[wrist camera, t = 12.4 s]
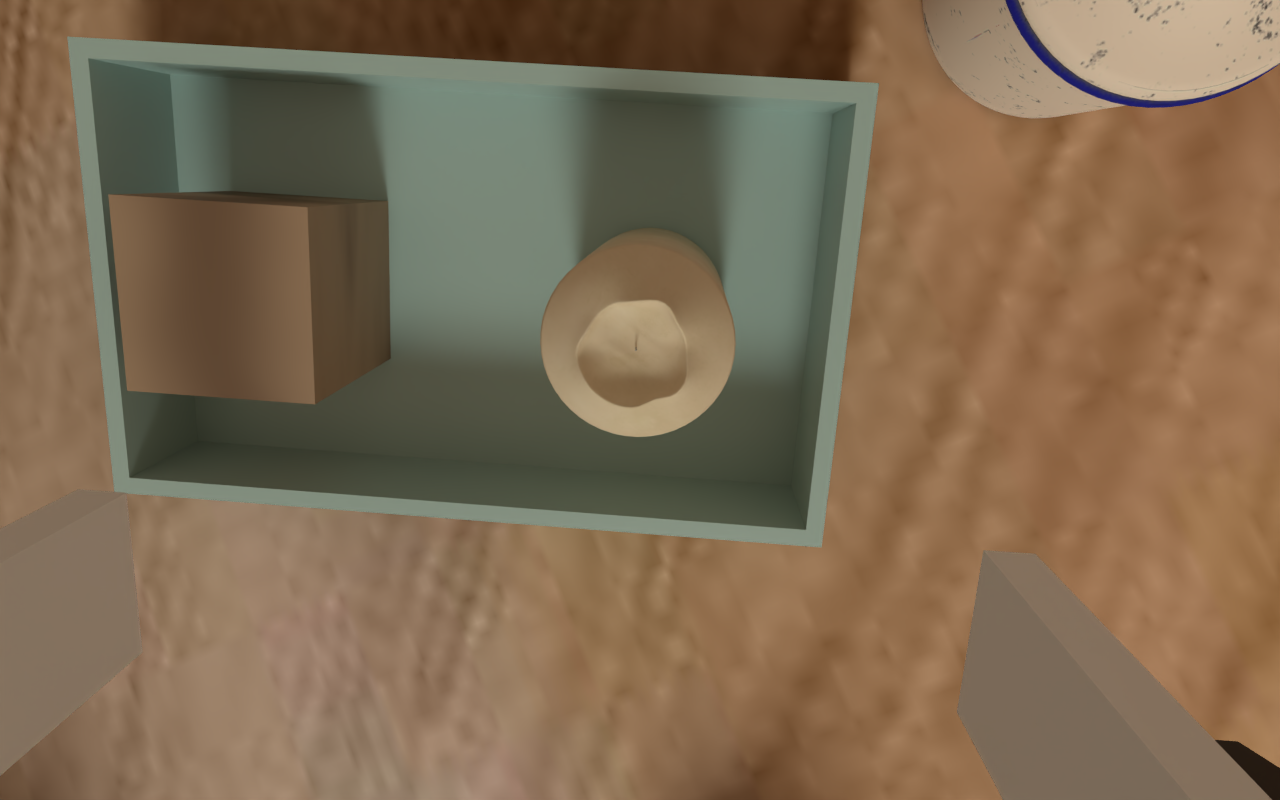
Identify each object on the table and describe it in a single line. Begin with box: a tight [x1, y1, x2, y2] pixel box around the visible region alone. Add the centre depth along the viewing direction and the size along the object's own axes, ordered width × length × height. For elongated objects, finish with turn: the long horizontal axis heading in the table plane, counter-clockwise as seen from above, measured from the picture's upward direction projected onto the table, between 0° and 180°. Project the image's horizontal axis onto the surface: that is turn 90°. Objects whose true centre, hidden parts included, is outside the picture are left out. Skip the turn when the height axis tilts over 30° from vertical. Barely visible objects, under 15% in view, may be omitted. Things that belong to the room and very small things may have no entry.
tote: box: [67, 37, 879, 547], centre depth 31 cm, size 25×15×5 cm, turn 87°
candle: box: [540, 228, 736, 437], centre depth 27 cm, size 6×6×10 cm
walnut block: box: [108, 191, 391, 404], centre depth 29 cm, size 6×6×7 cm
